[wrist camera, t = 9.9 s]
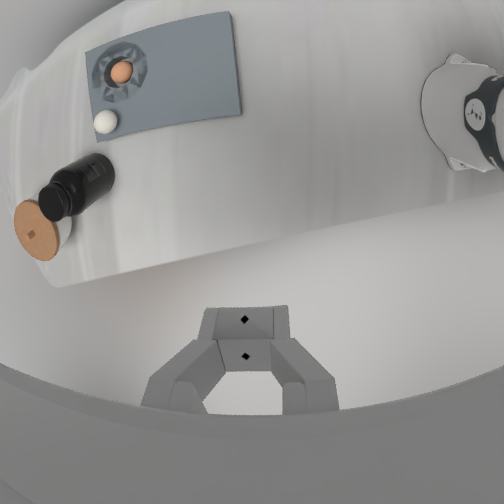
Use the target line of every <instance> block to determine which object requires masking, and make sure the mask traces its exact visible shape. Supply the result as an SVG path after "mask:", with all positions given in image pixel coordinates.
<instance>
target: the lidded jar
mask: <svg viewBox="0 0 504 504" xmlns="http://www.w3.org/2000/svg"><path fill="white" fill-rule="evenodd" d="M38 196H39V194H38V195H35V196H33V197H31V198H29V199H28V200H25V201H23V202H22V203H20V204H19V205H18V207H17V208H16V210H15V214H14V226H15V231H16V234H17V237H18V239H19V241H20V243H21V244H22V246H23V247H24V249H25V250H26V251H27V252H28V253H29V254H30V255H31V256H33V257H34V258H36V259H38V260H41V261H48V260H50V259H52V258H53V257H54V256H55V255H56V254H57V252H58V251H59V250H60V249H61V248H62V246H63V245H64V244H65V242H66V241H67V239H68V237H69V235H70V231H71V225H72V220H71V217H64V218H63V219H62V220H60V221H58V222H52V221H49V220H48V219H47V218H45V217H44V215H43V214H42V212H41V210H40V208H39V203H38Z"/></svg>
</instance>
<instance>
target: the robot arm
mask: <svg viewBox="0 0 504 504" xmlns="http://www.w3.org/2000/svg"><path fill="white" fill-rule="evenodd" d="M421 108H422V115H423V120H424V123H425V126H426V129H427V131H428V133H429V135H430V137H431V139H432V140H433V141H434V143H435V144H436V145H437V146H438V147H439V148H440V149H441V150H442V151H443V153H444V154H445V156H446V159H447V162H448V164H449V166H450V168H451V169H453V170H456V171H461V170H467V169H476V170H479V171H481V172H486V171H490V170H495V169H499V170H500V171H502V172H504V75H502V74H497V70H495V69H493V68H489V66H488V65H485V64H477V63H472V62H471V61H469V60H467V59H466V58H464V57H463V56H461V55H459V54H455V53H452V54H450V55H449V57H448V58H447V60H446V62H445V64H444V65H443V66H441V67H439V68H437V69H436V70H434V71H433V72H432V73H431V74H430V75H429V77H428V78H427V80H426V82H425V84H424V87H423V91H422V99H421ZM229 371H230V372H231V371H232V372H233V371H272V373H273V375H274V376H275V378H276V379H277V380H278V382H279V383H280V385H281V386H282V388H283V414H282V415H220V414H208V413H207V411H206V409H205V407H204V405H203V403H202V401H203V400H204V399H205V398H206V396H207V395H208V394H209V393H210V391H211V390H212V389H213V388H214V387H215V385H216V384H217V383H218V382H219V381H220V379H221V378H222V377H223V376H224V374H225V373H226V372H229ZM0 504H504V365H503V366H501V367H499V368H497V369H494V370H492V371H490V372H487V373H484V374H482V375H479V376H477V377H474V378H471V379H469V380H466V381H463V382H460V383H457V384H454V385H451V386H448V387H445V388H442V389H438V390H435V391H432V392H428V393H424V394H420V395H417V396H412V397H409V398H404V399H400V400H395V401H391V402H386V403H381V404H375V405H370V406H364V407H358V408H351V409H343V410H339V404H338V397H337V391H336V384H335V379H334V377H333V376H332V375H331V374H330V373H328V371H326V370H325V368H324V367H322V365H321V364H320V363H319V362H318V361H317V360H316V359H315V358H314V357H312V355H311V354H310V353H308V351H307V350H306V349H305V348H304V347H303V346H301V344H300V343H299V342H298V341H297V340H296V339H295V338H290V327H289V313H288V306H287V305H282V306H274V309H273V306H268V307H247V308H206V309H205V311H204V315H203V319H202V323H201V327H200V331H199V335H198V338H197V340H193V341H191V342H190V343H189V344H188V345H187V346H186V347H184V348H183V349H182V350H181V351H180V352H179V353H177V354H176V355H175V356H174V357H173V358H172V359H170V361H168V362H167V363H166V364H165V365H164V366H162V367H161V368H160V369H159V370H158V371H156V372H155V373H154V374H153V375H152V376H151V377H150V378H149V381H148V384H147V387H146V390H145V393H144V396H143V399H142V402H141V405H140V406H139V405H134V404H128V403H123V402H118V401H114V400H109V399H104V398H101V397H96V396H92V395H88V394H85V393H81V392H77V391H74V390H71V389H67V388H64V387H61V386H58V385H55V384H52V383H49V382H46V381H43V380H40V379H37V378H34V377H32V376H29V375H27V374H24V373H22V372H19V371H17V370H14V369H12V368H9V367H7V366H5V365H3V364H1V363H0Z"/></svg>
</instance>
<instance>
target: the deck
mask: <svg viewBox="0 0 504 504" xmlns="http://www.w3.org/2000/svg"><path fill="white" fill-rule="evenodd" d="M85 54H86V67H87V78H88V87H89V95H90V103H91V109H92V116H93V122H94V119H95V117H96V116H97V114H98V113H100V112H101V111H104V110H110V111H112V112H114V113H115V114H116V116H117V125H116V127H115V128H114V130H113V131H111V132H110V133H107V134H101V133H99V132H97V131H96V129H95V133H96V139H97V143H98V142H101V141H105V140H108V139H112V138H115V137H119V136H123V135H127V134H131V133H135V132H139V131H144V130H148V129H153V128H158V127H162V126H167V125H173V124H178V123H184V122H190V121H196V120H203V119H210V118H217V117H225V116H234V115H241V114H242V109H241V99H240V90H239V80H238V71H237V62H236V52H235V43H234V34H233V24H232V16H231V14H230V12H229V11H225V12H218V13H212V14H206V15H201V16H196V17H191V18H186V19H182V20H177V21H173V22H169V23H166V24H162V25H158V26H155V27H151V28H148V29H145V30H142V31H139V32H136V33H133V34H130V35H127V36H124V37H121V38H119V39H116V40H113V41H111V42H108V43H106V44H103V45H101V46H99V47H96V48H94V49H92V50H90V51H87V52H85ZM126 58H129V59H130V61H131V62H132V63H133V73H132V76H131V79H130V80H129V81H128V82H127V83H126V84H125V85H124V86H122V87H118V86H117V85H116V84H115V83H114V81H113V79H112V78H111V70H112V68H113V67H114V65H115V64H117V63H119V62H120V61H121V60H123V59H126ZM94 128H95V127H94Z"/></svg>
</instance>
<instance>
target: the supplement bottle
mask: <svg viewBox="0 0 504 504" xmlns="http://www.w3.org/2000/svg"><path fill="white" fill-rule="evenodd" d="M113 181H114V172H113V168H112V166H111V164H110V162H109V161H108V160H107V159H106V158H105V157H103V156H102V155H99V154H91V155H88V156H86V157H84V158H82V159H79V160H77V161H75V162H73V163H72V164H70V165H68V166H66V167H64V168H62V169H60V170H58V171H57V172H56V173H55V174H54V175H53V176H52V178H51V180H50V182H49V184H48V185H47V186H45V187H44V188H42V190H41V191H40V193H39V196H38V203H39V208H40V210H41V212H42V214H43V215H44V217H45V218H47V219H48V220H49V221H52V222H58V221H60V220H62V219H63V218H64V217H75V216H77V215H79V214H80V213H82V212H83V211H84V210H85V209H87V208H88V207H89V206H90V205H92V204H93V203H94V202H95V201H97V200H98V199H99V198H101V197H102V196H103V195H104V194H106V193H107V192H108V191H109V190H110V188H111V187H112V184H113Z"/></svg>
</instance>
